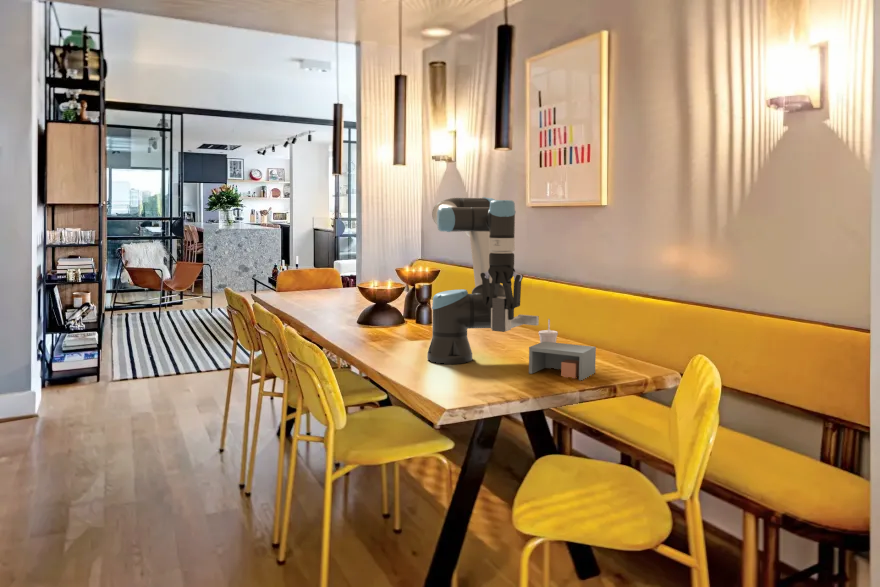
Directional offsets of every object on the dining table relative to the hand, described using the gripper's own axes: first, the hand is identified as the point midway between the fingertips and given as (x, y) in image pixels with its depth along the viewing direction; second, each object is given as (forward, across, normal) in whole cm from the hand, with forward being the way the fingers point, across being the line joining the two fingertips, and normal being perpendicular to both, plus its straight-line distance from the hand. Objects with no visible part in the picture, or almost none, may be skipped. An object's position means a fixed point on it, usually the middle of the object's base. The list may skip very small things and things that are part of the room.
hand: (501, 329), depth 198 cm
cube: (+14, +19, +9) cm, 25 cm away
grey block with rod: (0, +2, +7) cm, 7 cm away
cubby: (+14, +16, +10) cm, 23 cm away
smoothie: (+14, +4, +26) cm, 30 cm away
